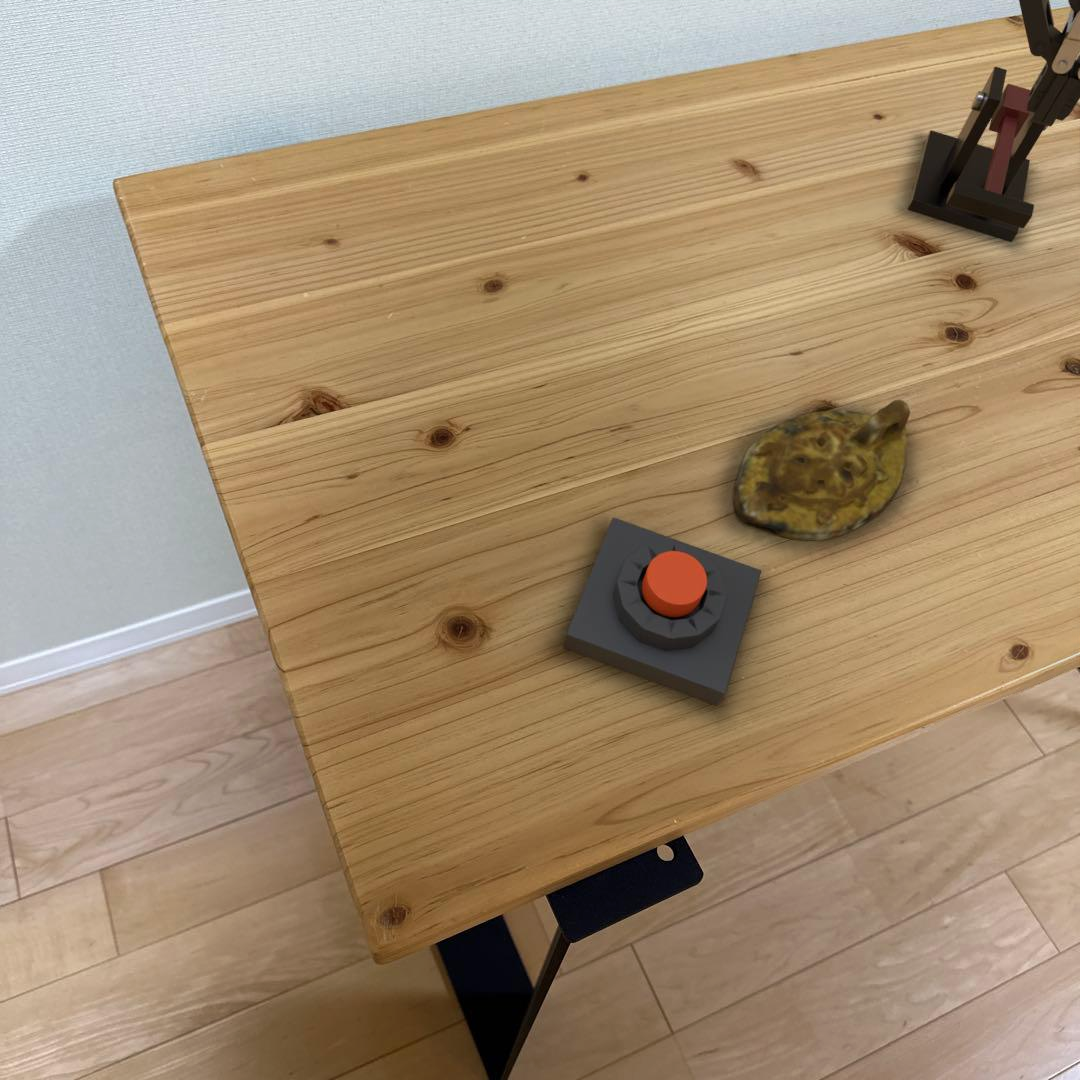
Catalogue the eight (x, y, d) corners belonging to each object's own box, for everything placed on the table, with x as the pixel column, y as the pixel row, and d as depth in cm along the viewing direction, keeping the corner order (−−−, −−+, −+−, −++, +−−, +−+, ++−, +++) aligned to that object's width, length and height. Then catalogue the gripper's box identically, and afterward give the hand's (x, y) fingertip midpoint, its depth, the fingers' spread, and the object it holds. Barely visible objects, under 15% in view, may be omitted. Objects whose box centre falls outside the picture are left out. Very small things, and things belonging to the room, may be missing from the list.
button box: (752, 586, 64) (770, 556, 60) (716, 707, 59) (733, 682, 56) (608, 533, 65) (617, 501, 61) (562, 649, 60) (569, 621, 57)
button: (707, 576, 60) (714, 563, 58) (691, 626, 58) (698, 613, 56) (651, 556, 60) (656, 542, 58) (633, 605, 58) (639, 591, 57)
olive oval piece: (782, 583, 65) (932, 478, 70) (809, 555, 61) (967, 446, 66) (695, 477, 68) (846, 384, 73) (716, 443, 63) (874, 346, 68)
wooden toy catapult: (1010, 244, 82) (1074, 145, 74) (906, 211, 83) (958, 110, 75) (1022, 172, 87) (1084, 71, 79) (924, 142, 88) (974, 39, 80)
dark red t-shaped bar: (1020, 234, 74) (1036, 210, 72) (942, 210, 75) (956, 186, 73) (1043, 122, 80) (1058, 97, 78) (970, 101, 80) (984, 76, 78)
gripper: (1083, -168, 51) (939, 120, 66) (1341, -99, 50) (1134, 180, 65) (1093, -226, 55) (954, 59, 70) (1333, -164, 53) (1139, 114, 68)
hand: (1041, 117), depth 67 cm, fingers closed
